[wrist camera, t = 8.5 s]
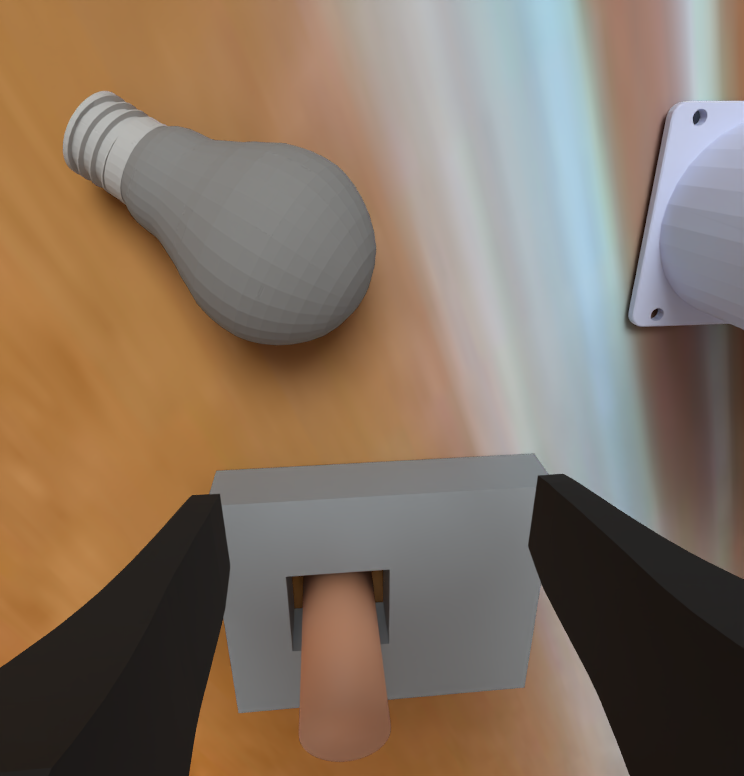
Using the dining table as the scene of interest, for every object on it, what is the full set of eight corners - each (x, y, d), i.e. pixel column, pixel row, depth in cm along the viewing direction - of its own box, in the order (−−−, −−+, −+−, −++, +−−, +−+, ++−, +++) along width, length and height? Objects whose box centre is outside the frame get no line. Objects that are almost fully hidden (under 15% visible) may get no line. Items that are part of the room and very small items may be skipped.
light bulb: (119, -28, 15) (434, 174, 15) (157, 127, 20) (386, 271, 21) (-42, 120, 13) (323, 346, 13) (50, 245, 19) (303, 400, 19)
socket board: (534, 453, 25) (556, 485, 22) (508, 645, 30) (524, 687, 27) (216, 470, 23) (205, 506, 21) (245, 667, 28) (238, 713, 26)
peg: (357, 533, 26) (373, 690, 18) (379, 581, 27) (402, 745, 20) (293, 555, 26) (284, 718, 18) (318, 602, 27) (318, 771, 20)
